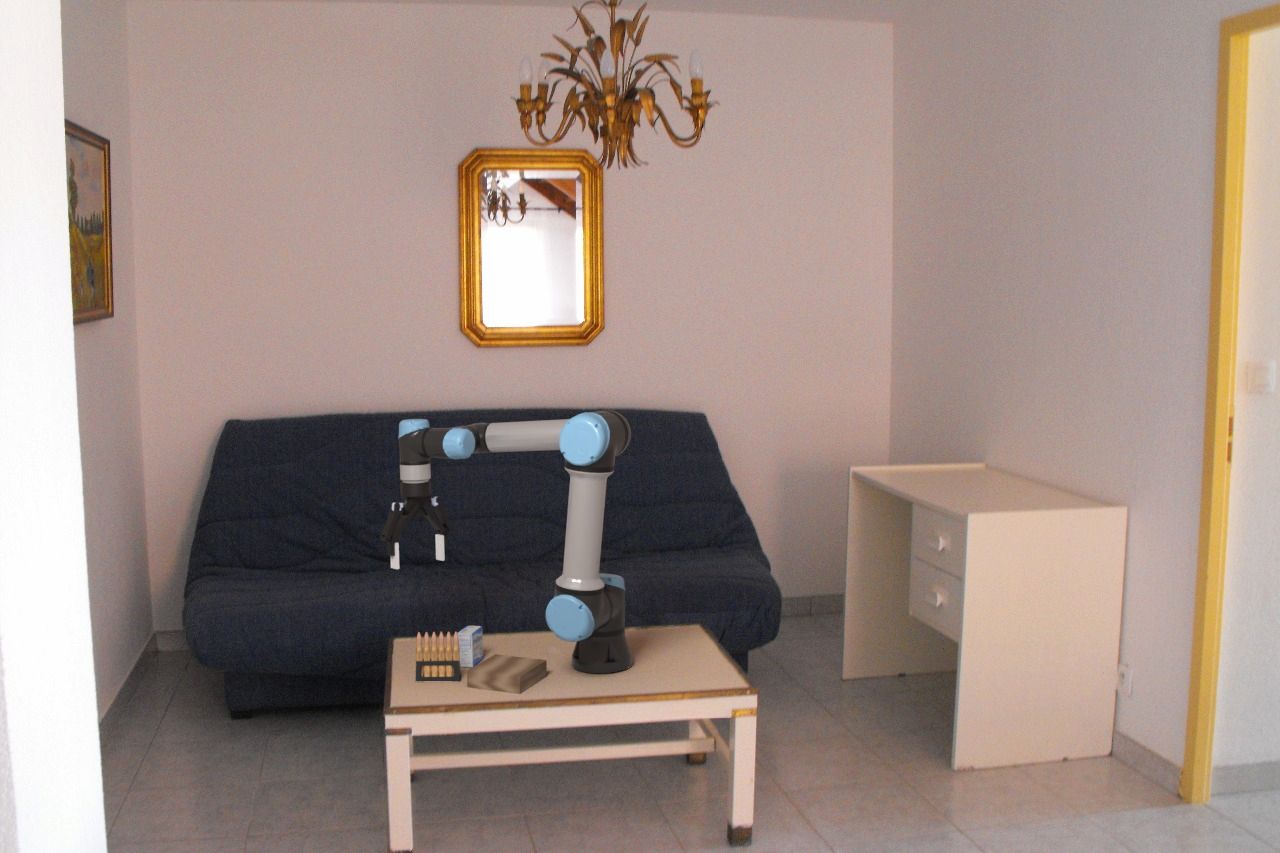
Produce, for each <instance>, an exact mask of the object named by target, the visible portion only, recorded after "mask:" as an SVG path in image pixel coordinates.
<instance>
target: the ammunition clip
mask: <svg viewBox="0 0 1280 853" xmlns="http://www.w3.org/2000/svg"><path fill="white" fill-rule="evenodd" d="M457 633H458V632H457V631H455V632H454V635H453V646H452V637H451V636H452V635H451V632H450V631H447V634H446V637H445V638H446V640H445V638H444V633H443V631H440V632H439V637H438V640H437V635H436V632H435V631H433V632H432V636H431V646H430V636H429V633H428V632H427V631H425V634H424V639H423V641H422V635H421V632H420V631H418V632H417V635H416V645H415V646H416V648H415V681H422V682H421V683H424V682H423V681H452V682H460V681H461V680H462V672H461V671H462V670H461V668H462V667H460V649H459V640H458V634H457ZM437 641H438V642H437ZM445 641H446V642H445Z"/></svg>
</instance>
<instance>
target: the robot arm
mask: <svg viewBox="0 0 1280 853" xmlns="http://www.w3.org/2000/svg"><path fill="white" fill-rule="evenodd" d="M631 435H632V431H631V426H630V424H629V422H628V420H627V419H626V417H624V416H623V414H621V413H619V412H618V411H615V410H612V409H602V410H598V411H590V412H582V413H579V414H576V415H575V416H572V417H571V418H566V419H563V418H562V419H548V420H546V419H545V420H528V421H508V422H507V421H506V422H505V421H504V422H490V423H487V422H475V423H472V424H467V425H460V426H459V425H458V426H452V427H431V426H430V422H429V420H428V419H426V418H425V419H424V418H409V419H403V420H401V421H400V422H399V424H398V437H397V438H398V446H399V447H398V448H399V474H400V475H399V476H400V478H399V479H400V481H401V482H400V484H399V486H400V497H401V502H393V501H392V502H390V506H389V513H388V514H387V515H388V516H387V518H386V521H385V524H384V526H383V529H382V531H381V534H380V537H379V540H380V541H382V542H385V543H387V544H386V545H387V555H388V556H389V557H390V559H389V560H390V569H393V570H400V550H399V549H400V545H399V542H397V541H398V539H399V537H400V536H401V534H402V532H403V531H404V529H405V528H406V526H407V525H408V523H409V522H410V521H411V520H412V519H417V518H425V519H426V520H427V521H428V523H429V524H430V525H431V526H432V527H433V528H434V530H435V531H436V532H437V534H435V535H434V537H435V540H434V541H435V560H437V561H442V562H444V561H446V560H445V558H446V556H445V547H447V536H448V535H449V534H450V532H452V531H453V529H454V528H453V525H452V524H451V521H450V520H449V517H448V515H447V513H446V511H445V508H444V506H443V501H442V498H441V497H440V496H434V495H433V496H432V497H431V495H432V482H430V481H431V480H430V479H431V478H432V476H431V475H432V473H431V459H451V460H456V461H457V460H464V459H465V460H466V459H469V458H470V457H471V455H472V454H473V455H474V454H484V453H485V454H487V453H488V454H489V453H504V452H505V453H508V452H511V453H512V452H513V453H514V452H533V451H534V452H535V451H560V453H561V454H562V456H563V457H564V469H565V471H567V473H568V474H569V478H570V480H569V488H568V489H569V491H568V503H567V515H566V529H565V538H564V540H565V541H564V553H563V554H564V555H563V564H562V567H563V568H562V573H561V575H560V576H559V577H558V578H556V579H555V586H554V587H555V588H554V596H553V598H552V599H550V601H549V602H548V604H547V606H546V609H545V622H546V624H547V626H548V628H549V629H550V630H551V632H552V633H553V635H554V636H556V638H558V639H560V640H562V641H564V642H568V643H574V642H575V645H574V648H573V651H572V654H571V667H572V668H573V669H575V670H576V671H578V672H583V673H588V674H612V673H611V672H614V673H618V672H617V671H619V672H622V671H621V670H623V671H625V670H624V669H626V668H628V667H630V666H631V665H633V655H632V652H631V649H630V645H629V643H628V639H627V637H626V628H625V627H626V626H625V625H626V617H625V616H626V606H625V605H626V587H625V579H624V577H622V576H621V575H618V574H615V573H614V574H613V573H603V572H601V573H600V566H601V563H600V562H601V552H602V542H603V541H602V540H603V539H602V538H603V529H604V517H605V516H604V515H605V505H606V503H605V502H606V492H607V481H608V477H610V476H611V475H612V474H613V473H614V472H615V465H616V464H615V462H616V461H615V460H616V457H618V456H619V455H621V454H622V453H623V452H624V451H625V450H626V449H627V447H628V446H629V444H630V441H631V439H632V438H631ZM431 506H432V508H433V510H434V512H435V514H436V516H437V517H436V516H435V515H434V512H433V511H432V509H430V508H431ZM401 510H402V511H401ZM400 512H401V513H400ZM631 667H632V666H631ZM631 667H630V668H631ZM628 669H629V668H628ZM626 670H627V669H626Z"/></svg>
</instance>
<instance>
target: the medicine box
mask: <svg viewBox="0 0 1280 853" xmlns="http://www.w3.org/2000/svg"><path fill="white" fill-rule="evenodd" d="M457 634H458V640H459V649H460V668H469V669H470V668H472V667H474V666H475V665H477V664H479V663H481V662H482V660H484V644H483V643H484V642H483V626H480V625H466V626H465V627H463V628H462V629H461V630H460V631H458V632H457Z"/></svg>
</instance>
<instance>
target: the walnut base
mask: <svg viewBox="0 0 1280 853" xmlns="http://www.w3.org/2000/svg"><path fill="white" fill-rule="evenodd" d="M547 664H548V663H547V659H543V658H531V657H525V656H524V657H522V656H513V655H507V654H506V655H504V654H493V655H491V656H490V657H488V658H486V659H485V660H484V659H483V661H482V660H481V661H480V662H478V663H477V664H476V665H475V666H474V667H472V668H470V667H469V669H467V670H466V687H467V688H473V689H479V690H481V689H482V690H487V691H488V690H489V691H495V692H503V693H512V694H519V695H520V694H522V693H523V692H526V691H527V690H528V689H530V688H531V687H533V686H534V685H536V684H537V683H539V682H540V681H542V680H543V679H545V678H546V677H547V675H548V672H547V670H548V667H547ZM544 677H545V678H544ZM541 679H542V680H541ZM538 681H539V682H538ZM535 683H536V684H535ZM532 685H533V686H532ZM529 687H530V688H529Z"/></svg>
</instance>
